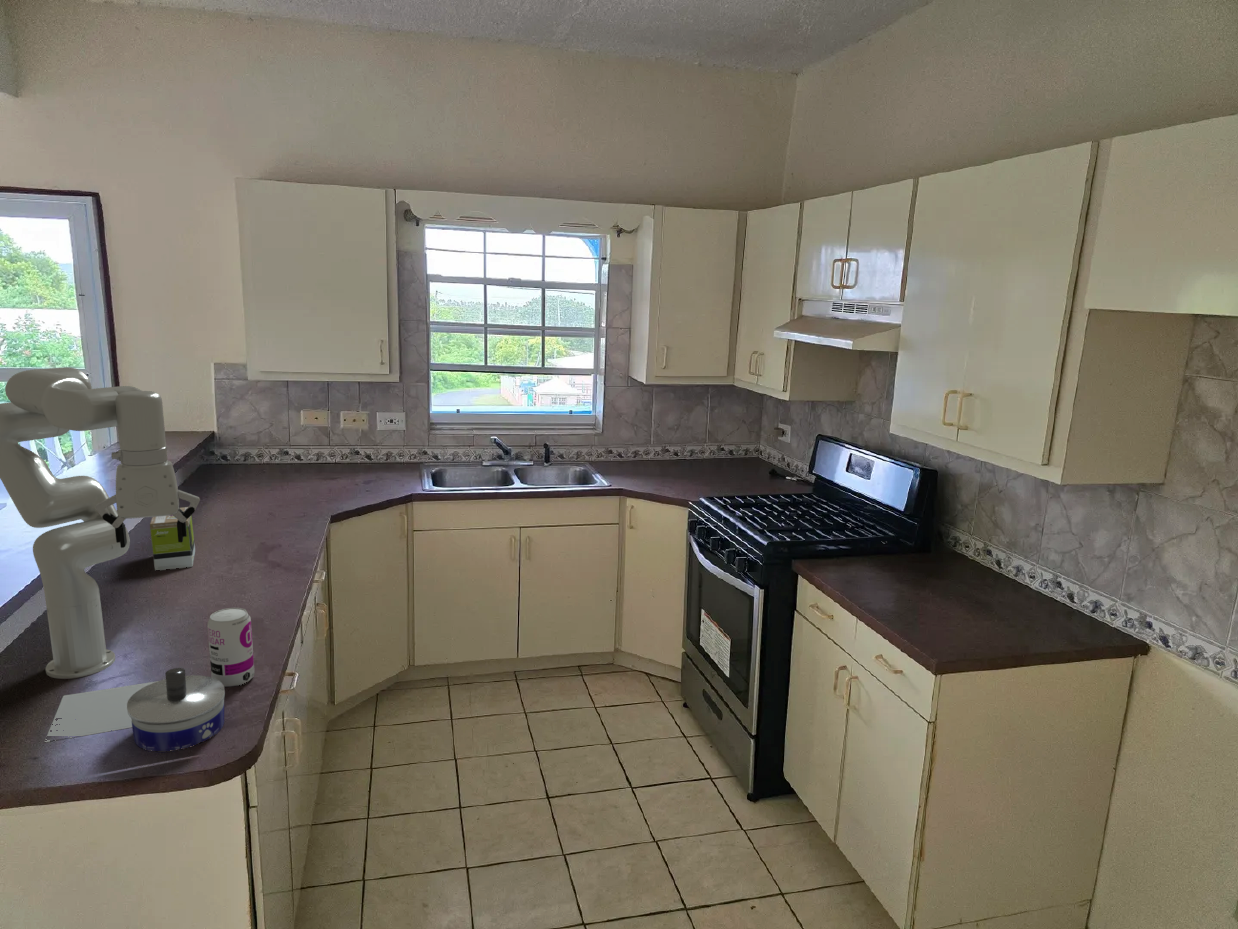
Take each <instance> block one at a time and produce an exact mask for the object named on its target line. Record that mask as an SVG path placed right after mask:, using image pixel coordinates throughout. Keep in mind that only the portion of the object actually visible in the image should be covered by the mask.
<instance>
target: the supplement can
mask: <svg viewBox="0 0 1238 929" xmlns="http://www.w3.org/2000/svg"><path fill="white" fill-rule="evenodd" d="M251 619H252V617H251V616H250V615H249V614H248V611H247V610H246V609H245V608H241V607H229V608H222V609H220V610H216V611H215V612H212V614H210V616H209V619H208V621H207V624H206V625H207V639H208V648H209V660H210V673H211V677H212V678H215V679H217V680H219V681H220V682H221V683H222V684H223V685H224V688H225V687H236V686H239V685H240V686H242V684H243V685H245V684H247V683H248V682H249V681H251V680H252V679H253V678H254V676H255V661H254V659H255V658H254V649H253V648H254V646H253V645H254V644H253V632H252V631H253V630H252V620H251ZM246 682H247V683H246ZM244 683H245V684H244Z"/></svg>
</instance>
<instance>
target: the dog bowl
mask: <svg viewBox="0 0 1238 929" xmlns="http://www.w3.org/2000/svg"><path fill="white" fill-rule="evenodd" d="M224 725H225V698H224V699H223V701H222V702H221V703H220V704H219V705H218V706H217V707H216V708H215V709H213V710H212V711H210V712H208V713H206V714H204V715H202V716H200V717H197V718H195V719H192V720H188V721H184V722H180V723H175V724H166V725H150V724H143V723H140V722H137V721H135V720H133V719H132V735H133V741H134V743H135V745H136V746H137V747H139V748H140V749H141V748H143V749H142V750H144V749H146V750H152V751H170V750H176V749H181V748H187V749H189V748H188V747H190V746H193V745H196V744H198V743H200V742H203V741H205V740H207V739H209V738H210V737H212V736H213V737H215V736H216V735H217V734H219V733H220V731H221V730H222V729H223V727H224ZM215 734H216V735H215ZM214 735H215V736H214ZM213 737H212V738H213ZM210 739H211V738H210ZM210 739H209V740H210ZM207 741H208V740H207ZM205 742H206V741H205ZM203 743H204V742H203ZM198 745H199V744H198ZM196 746H197V745H196ZM193 747H194V746H193ZM190 748H191V747H190ZM146 750H145V751H146Z"/></svg>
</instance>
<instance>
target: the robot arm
mask: <svg viewBox="0 0 1238 929" xmlns="http://www.w3.org/2000/svg"><path fill="white" fill-rule="evenodd" d="M4 388H5V391H4V392H5V395H6V397H7V399H8V400H9V402H3V403H2V402H1V403H0V481H1V482H2V484H3V486H4V488H5V489H6V491H7V494H8V496H9V497H10V499H11V501H12V502H13V504H14V506H15V507H16V510H17V511H18V513H19V515H20V517H21V518H22V519H23V521H24V522H25V523H26V524H27V525H28V526H29V527H31V528H36V529H42V528H43V529H44V528H48V527H53V526H58V525H62V524H63V526H59V527H56V528H53V529H52V528H51V529H50V530H48V531H45V532H43V533H42V534H40V535H38V537H37V538H36V539H35V540H34V542H33V544H32V554H33V558H34V561H35V563H36V566H37V568H38V572H39V574H40V578H41V582H42V586H43V591H44V599H45V606H46V613H47V615H46V616H47V621H48V627H49V636H50V637H49V638H50V644H51V652H52V659H51V660H50V661H49V662H48V663H47V665H46V666H45V674H46V675H47V676H49V677H50V678H53V679H62V680H63V679H64V680H66V679H70V680H71V679H76V678H77V679H78V678H82V677H88V676H91V675H95V674H97V673H99V672H102V671H105V670H106V669H107V668H109V667H111V666H112V665H113V664H114V663H115V661H116V654H115V652H114V651H113V650H111V649H107V646H106V640H105V639H106V638H105V637H106V636H105V630H104V620H103V611H102V604H101V594H100V587H99V585H98V583H97V581H96V580H95V579H94V578H93V577H92V576H90V575H89V574H87V573H86V571H85V569H86V568H89V567H91V566H94V565H97V564H101V563H105V562H108V561H111V560H114V559H118V558H119V557H122V556H123V555H124V554H126V553H127V552H128V550H130V549H129V548H130V545H131V539H130V535H129V531H128V529H127V527H126V524H125V522H124V521H125V520H126V519H131V520H132V519H146V518H152V517H159V516H169V515H173V516H174V517H175V518H177V519H178V521H177V532H178V542H183V537H187V530H186V520H187V519H188V518H189V517H190V516H192V515H193V514H194V513H195V512H196V509H197V507H198V505H199V504H200V501H201V498H200V497H199V496H198V495H194V494H192V493H188V492H186V491H183V490H181V489H179V487H178V481H177V477H176V472H175V469H174V466H173V463H172V461H171V460H168V452H167V450H168V449H167V442H166V441H167V440H166V430H165V418H164V406H163V399H162V397H161V395H160V394H159V393H158V392H157V391H156V392H155V391H150V390H142V389H140V388H138V387H135V386H130V385H121V386H111V387H109V386H108V387H99V388H98V387H97V388H93V387H92V383H91V380H90V379H89V377H88V376H87V375H86V374H85V373H84V372H83V371H82V370H80V369H77V368H74V367H70V366H69V367H67V366H66V367H65V366H64V367H53V368H52V367H50V368H36V369H35V368H34V369H28V370H23V371H18V372H17V373H14V375H12V376H11V377H10V378H8V380H7V382H6V384H5V387H4ZM115 427H117V431H118V442H119V449H118V451H116V452H115V451H112V452H111V459H112V460H117V461H119V462H120V464H118V465H117V466H116V469H115V470H116V472H115V494H114V495H112V496H109V494H108V493H107V491H106V489H105V488H104V486H103V484H101V483H100V482H99V481H98V480H97V479H95V478H93V477H92V476H88V475H74V476H70V477H63V478H58V477H56V476H54V474H53V472H52V471H51V469H50V468H49V465H48V463H47V462H46V460H45V459H44V458H42V457H41V456H40V455H38V454H37V453H35V452H34V451H32V450H30V449H28V448H26V447H24V446H21V445H20V444H19V443H22V442H29V441H36V440H42V439H43V440H44V439H49V438H56V437H61V436H63V435H65V434H67V433H68V432H69V431H74V432H86V431H88V432H89V431H95V430H100V429H108V428H115ZM180 499H181V500H183V501H186V502H188V503H189V506H187V507H188V508H187V509H186V510H185V511H182V510H181V509H180V508H181V507H180ZM115 505H116V507H115ZM75 521H82V522H76V523H71V522H75ZM67 523H71V524H67ZM64 524H67V525H64Z"/></svg>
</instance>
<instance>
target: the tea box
mask: <svg viewBox="0 0 1238 929" xmlns="http://www.w3.org/2000/svg"><path fill="white" fill-rule="evenodd" d="M188 507H189V506H185V507H179V508H180V509H181V510H182V511H185V510H186V509H187V508H188ZM192 518H193V517H192V515H191V516H190V517H189V518H188V519H187V520H186V530H187V537H183V542H178V532H177V521H178V519H177V518H175V517H174V516H173V515H169V516H159V517H151V519H150V523H149V530H150V532H149V533H150V540H151V548H152V558H153V565H154V571H156V570H160V571H167V570H166V569H170V570H177V569H176V568H179V569H185V568H186V567H187V568H192V567H194V566H193V565H194V560H195V554H196V545H195V536H194V529H193V528H194V527H193V519H192Z"/></svg>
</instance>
